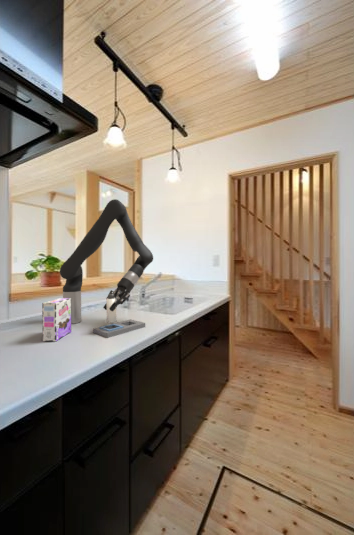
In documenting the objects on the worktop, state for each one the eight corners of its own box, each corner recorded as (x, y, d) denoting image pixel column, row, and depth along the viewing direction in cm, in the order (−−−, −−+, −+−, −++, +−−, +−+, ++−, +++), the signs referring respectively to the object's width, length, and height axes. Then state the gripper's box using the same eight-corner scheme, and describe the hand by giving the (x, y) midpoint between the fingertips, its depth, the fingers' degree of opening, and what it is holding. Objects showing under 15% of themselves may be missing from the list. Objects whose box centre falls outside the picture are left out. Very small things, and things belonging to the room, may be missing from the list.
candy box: (55, 341, 94) (55, 302, 94) (42, 341, 95) (41, 302, 94) (72, 331, 108) (71, 297, 108) (59, 331, 108) (59, 297, 108)
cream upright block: (105, 321, 107) (104, 294, 107) (113, 319, 111) (112, 293, 110) (110, 323, 104) (109, 295, 104) (118, 321, 108) (117, 294, 108)
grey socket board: (93, 332, 107) (93, 327, 107) (130, 322, 124) (130, 318, 124) (107, 337, 99) (107, 332, 99) (145, 326, 116) (145, 321, 116)
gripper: (115, 276, 117) (94, 303, 108) (133, 277, 108) (111, 306, 99) (124, 285, 122) (104, 312, 113) (141, 287, 112) (122, 316, 103)
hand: (108, 309), depth 106 cm, fingers closed on cream upright block, 4 cm apart
